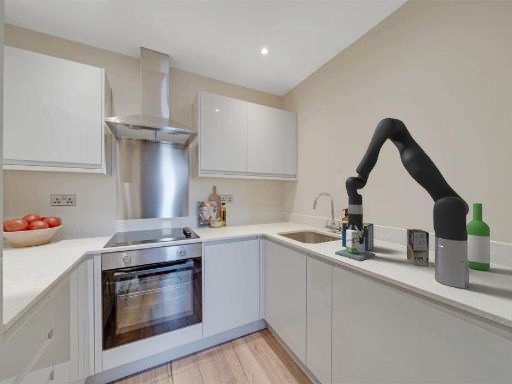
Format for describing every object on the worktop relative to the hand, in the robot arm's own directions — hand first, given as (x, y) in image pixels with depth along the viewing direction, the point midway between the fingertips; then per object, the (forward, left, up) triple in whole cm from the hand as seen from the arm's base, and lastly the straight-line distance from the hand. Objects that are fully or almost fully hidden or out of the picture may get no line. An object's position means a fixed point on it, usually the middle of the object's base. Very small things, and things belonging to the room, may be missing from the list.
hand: (355, 242), depth 114 cm
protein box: (+8, -16, -7) cm, 19 cm away
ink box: (0, 0, -5) cm, 5 cm away
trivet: (0, 0, -7) cm, 7 cm away
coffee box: (-24, -14, -7) cm, 29 cm away
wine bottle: (-42, -29, -7) cm, 51 cm away
